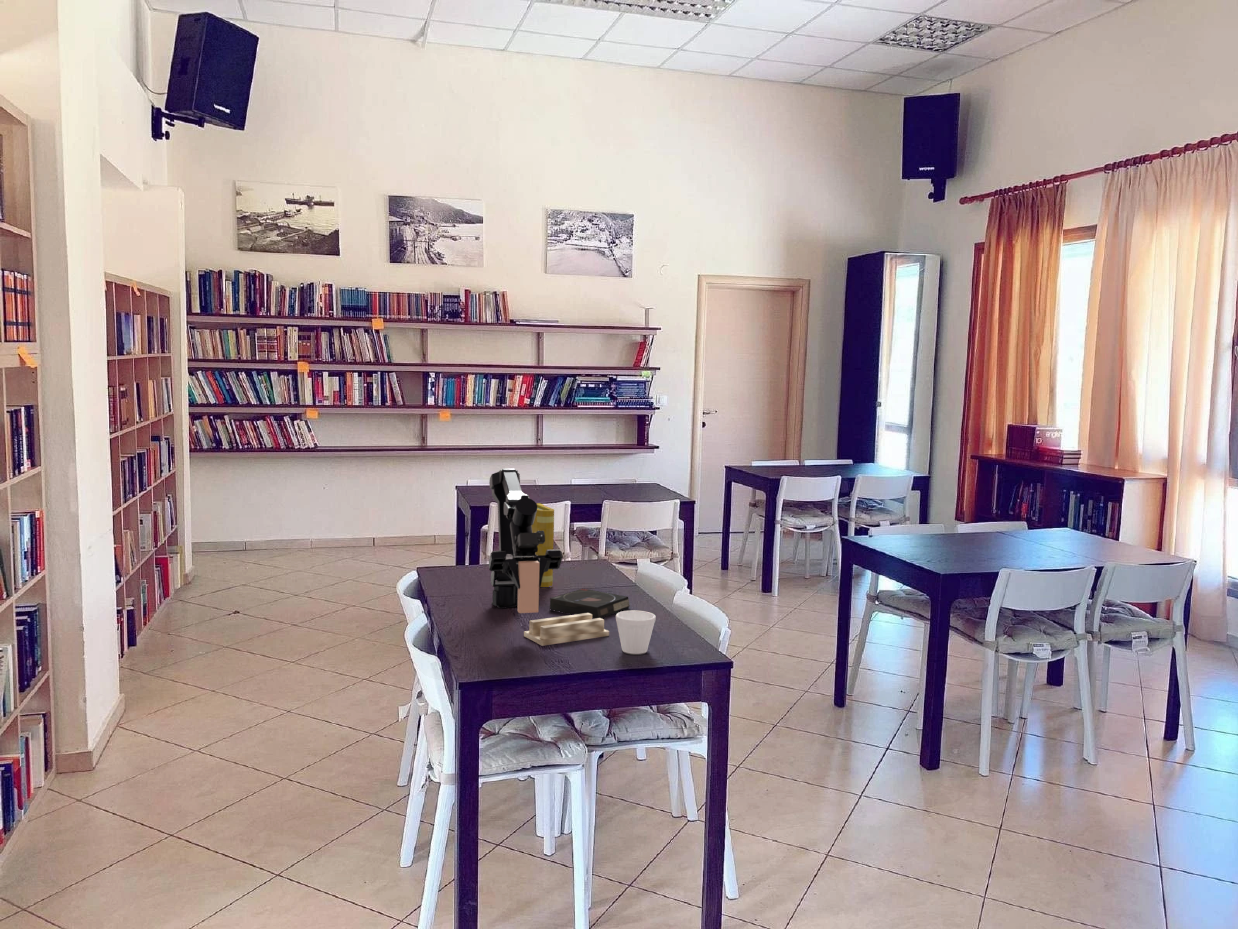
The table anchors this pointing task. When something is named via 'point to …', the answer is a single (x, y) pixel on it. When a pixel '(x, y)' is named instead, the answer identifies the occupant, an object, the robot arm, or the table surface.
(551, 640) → the rack
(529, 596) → the tile
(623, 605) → the portable cd player
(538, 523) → the book
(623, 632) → the cup
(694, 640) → the table surface
